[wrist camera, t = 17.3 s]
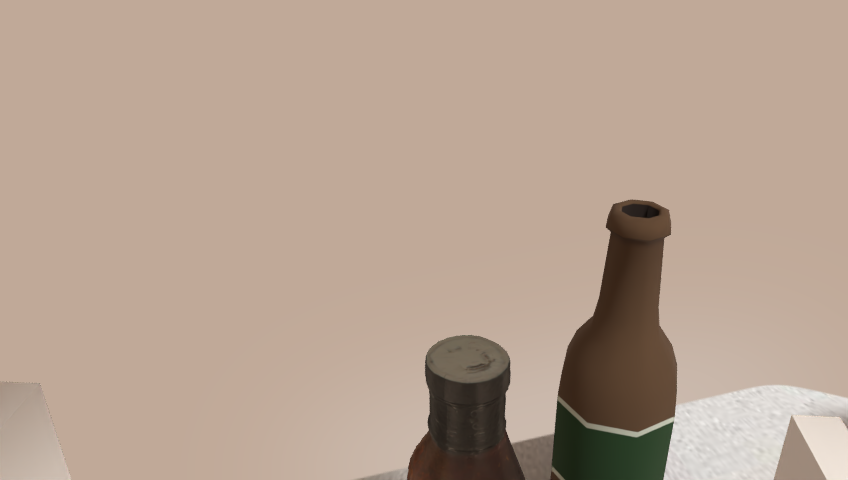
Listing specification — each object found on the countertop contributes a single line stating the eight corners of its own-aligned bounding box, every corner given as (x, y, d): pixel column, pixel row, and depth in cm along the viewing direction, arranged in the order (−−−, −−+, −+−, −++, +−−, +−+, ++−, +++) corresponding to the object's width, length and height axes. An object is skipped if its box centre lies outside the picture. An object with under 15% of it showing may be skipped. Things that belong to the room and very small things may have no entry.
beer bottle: (535, 476, 55) (556, 185, 44) (635, 468, 56) (680, 179, 45) (561, 563, 48) (593, 244, 37) (674, 553, 49) (739, 235, 38)
